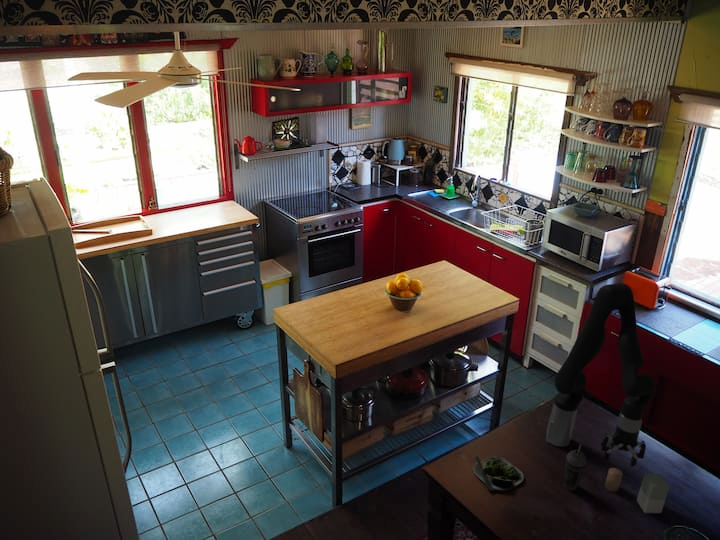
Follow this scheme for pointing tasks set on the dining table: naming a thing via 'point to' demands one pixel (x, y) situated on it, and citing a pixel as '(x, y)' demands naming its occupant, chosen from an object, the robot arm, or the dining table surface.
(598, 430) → the dining table surface
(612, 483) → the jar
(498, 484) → the salad plate
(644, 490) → the mid block
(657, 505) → the base block
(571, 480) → the beverage cup
